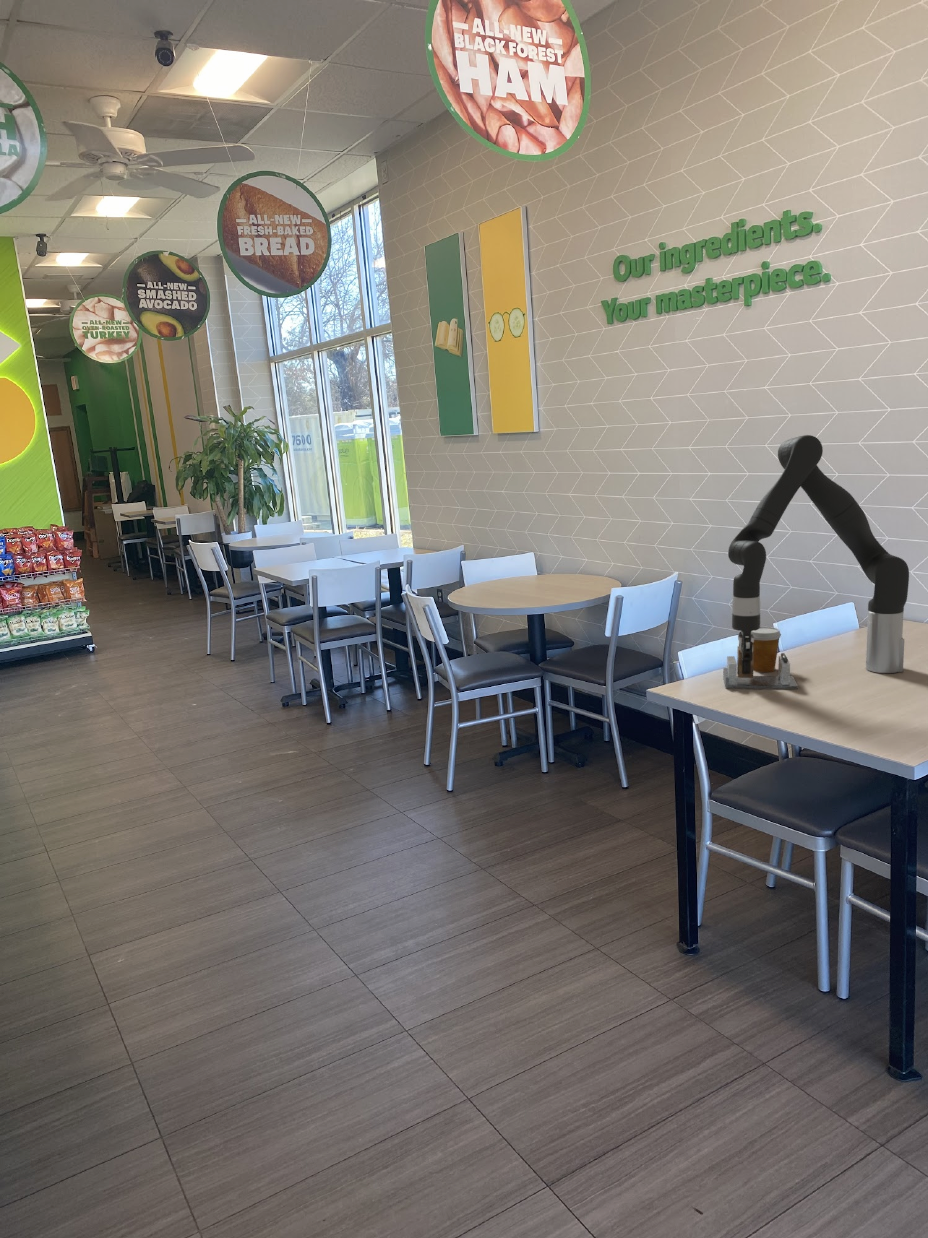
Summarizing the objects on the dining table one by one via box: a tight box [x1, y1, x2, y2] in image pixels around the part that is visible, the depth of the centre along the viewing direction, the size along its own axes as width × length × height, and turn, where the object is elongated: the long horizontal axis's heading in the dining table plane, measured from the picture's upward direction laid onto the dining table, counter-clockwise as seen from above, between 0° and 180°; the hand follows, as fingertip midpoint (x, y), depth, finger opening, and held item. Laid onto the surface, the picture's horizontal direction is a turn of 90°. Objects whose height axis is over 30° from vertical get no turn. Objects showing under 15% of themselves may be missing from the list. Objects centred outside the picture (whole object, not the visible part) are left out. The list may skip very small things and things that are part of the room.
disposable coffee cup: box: [751, 626, 782, 673], centre depth 265 cm, size 10×10×12 cm
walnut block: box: [736, 645, 754, 678], centre depth 253 cm, size 4×4×8 cm
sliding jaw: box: [777, 652, 791, 685], centre depth 251 cm, size 2×8×7 cm, turn 168°
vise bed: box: [722, 656, 799, 690], centre depth 252 cm, size 19×10×7 cm, turn 78°
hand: (745, 671), depth 253 cm, fingers closed on walnut block, 4 cm apart
